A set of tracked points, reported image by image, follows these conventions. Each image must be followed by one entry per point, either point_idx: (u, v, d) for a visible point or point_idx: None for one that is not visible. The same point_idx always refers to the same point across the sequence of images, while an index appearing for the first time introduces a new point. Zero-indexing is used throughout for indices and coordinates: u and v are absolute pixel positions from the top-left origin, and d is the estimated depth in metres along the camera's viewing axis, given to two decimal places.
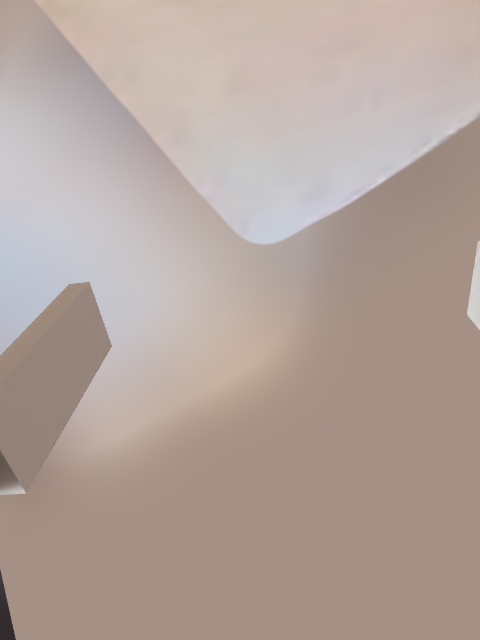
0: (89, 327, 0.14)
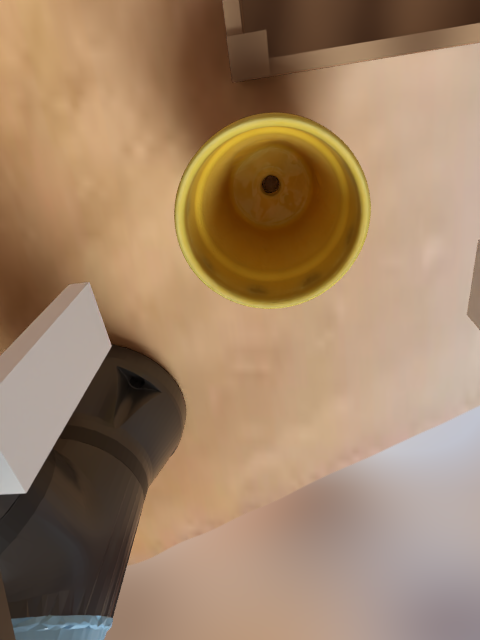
0: (89, 327, 0.14)
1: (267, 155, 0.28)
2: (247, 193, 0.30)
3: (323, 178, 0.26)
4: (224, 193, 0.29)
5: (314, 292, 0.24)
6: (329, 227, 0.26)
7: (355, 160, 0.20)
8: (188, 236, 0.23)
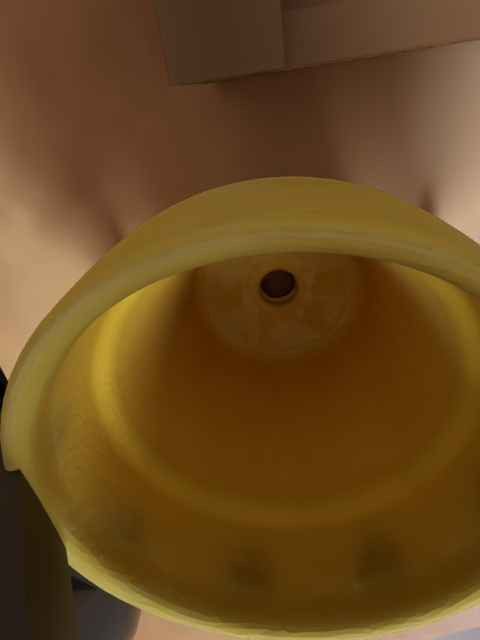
0: None
1: None
2: (232, 300, 0.15)
3: (397, 297, 0.12)
4: (185, 307, 0.14)
5: (393, 624, 0.09)
6: (414, 415, 0.11)
7: None
8: (64, 498, 0.09)
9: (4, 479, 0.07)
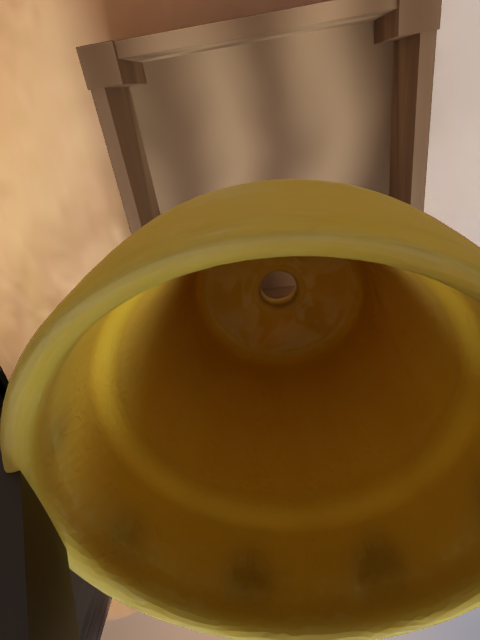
0: None
1: None
2: (232, 301, 0.15)
3: (398, 299, 0.12)
4: (185, 309, 0.14)
5: (394, 627, 0.09)
6: (414, 418, 0.11)
7: None
8: (64, 501, 0.09)
9: (4, 479, 0.07)
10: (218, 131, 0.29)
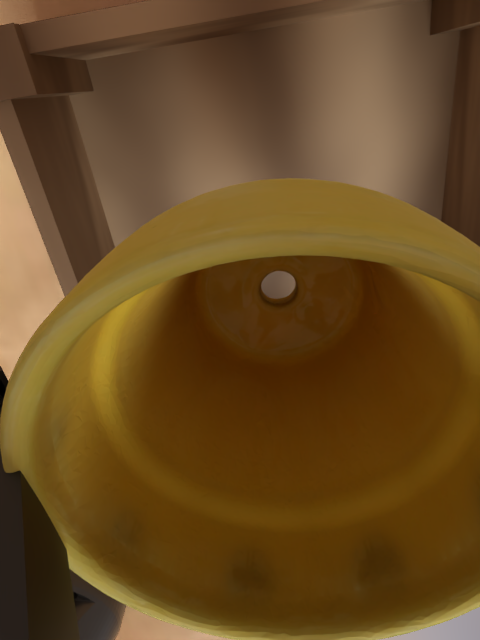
0: None
1: None
2: (232, 301, 0.15)
3: (398, 299, 0.12)
4: (185, 309, 0.14)
5: (394, 627, 0.09)
6: (414, 418, 0.11)
7: None
8: (63, 501, 0.09)
9: (4, 479, 0.07)
10: (199, 159, 0.20)
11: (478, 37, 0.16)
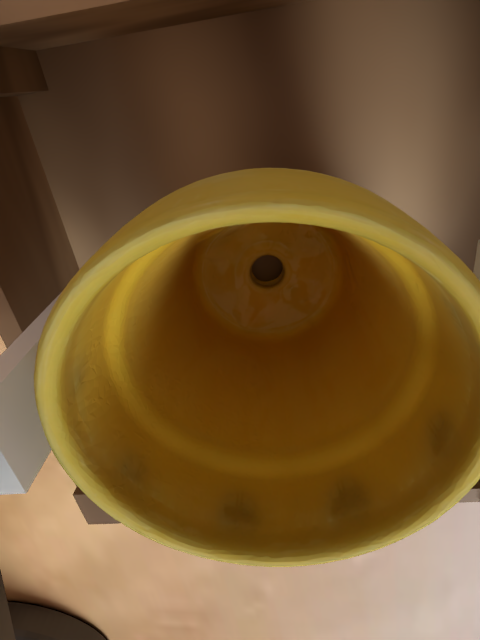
0: None
1: None
2: (226, 282, 0.17)
3: (369, 277, 0.14)
4: (184, 288, 0.16)
5: (359, 547, 0.11)
6: (382, 378, 0.13)
7: None
8: (82, 437, 0.10)
9: None
10: (184, 177, 0.16)
11: None
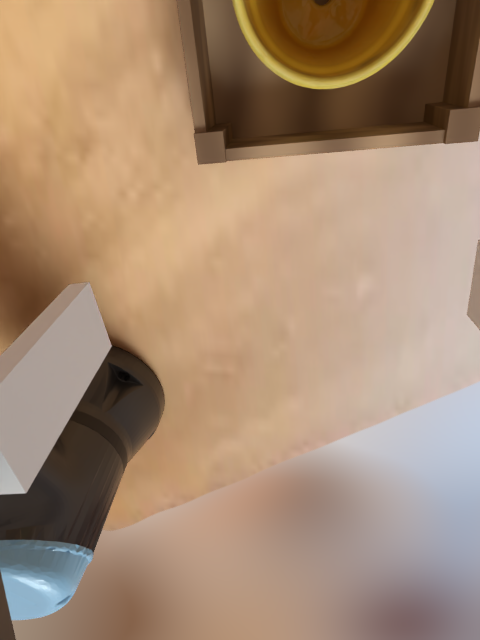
0: (89, 327, 0.14)
1: None
2: (296, 1, 0.28)
3: None
4: None
5: (373, 65, 0.22)
6: (389, 14, 0.24)
7: None
8: None
9: None
10: None
11: None
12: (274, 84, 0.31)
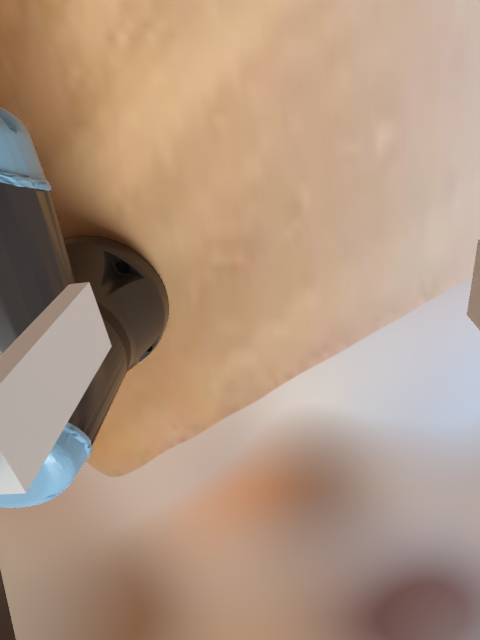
0: (89, 327, 0.14)
1: None
2: None
3: None
4: None
5: None
6: None
7: None
8: None
9: None
10: None
11: None
12: None
